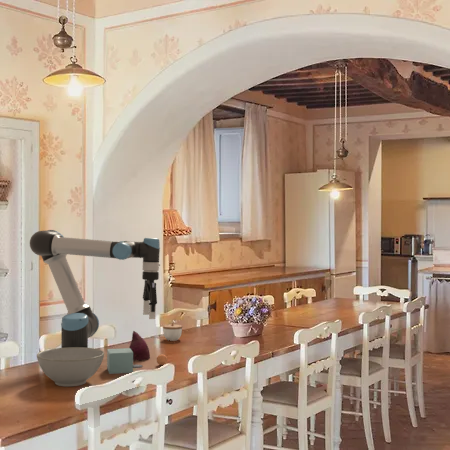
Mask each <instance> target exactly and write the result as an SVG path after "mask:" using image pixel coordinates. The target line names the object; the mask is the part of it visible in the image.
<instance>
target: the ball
mask: <svg viewBox="0 0 450 450" xmlns="http://www.w3.org/2000/svg"><path fill="white" fill-rule="evenodd" d="M156 363H157V364H158V365H159V366H165V365H166V364H167V363H168V357H167V356H166V355H165V354H163V353H162V354H159V355H157V356H156ZM164 364H165V365H164Z"/></svg>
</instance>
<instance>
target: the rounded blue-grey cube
mask: <svg viewBox="0 0 450 450" xmlns="http://www.w3.org/2000/svg"><path fill="white" fill-rule="evenodd" d="M106 350H107V351H106V355H107V356H106V357H107V358H106V369H107V372H108V374H110V375H113V374H128V373H129V374H131V373H130V372H133V373H134V368H133V365H134V360H133V352H132V350H131V349H130V348H129V347H126V348H125V347H124V348H107V349H106Z"/></svg>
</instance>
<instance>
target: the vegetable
mask: <svg viewBox="0 0 450 450" xmlns="http://www.w3.org/2000/svg"><path fill="white" fill-rule="evenodd" d="M128 348H130V349H131V350H132V352H133V361H145V360H149V359H150V358H151V354H150V353H151V352H150V349H149V346H148V344H147V342H146V340H145V339H144V338H143V337H142V336H141V335H140V334H139V333H138V332H137V331H135V330H133V331H132V337H131V341H130V344H129V347H128Z"/></svg>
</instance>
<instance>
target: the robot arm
mask: <svg viewBox="0 0 450 450" xmlns="http://www.w3.org/2000/svg"><path fill="white" fill-rule="evenodd" d="M29 247H30V250H31V252H33V253H34V254H36V255H37V256H40V257H41V259H42V261H43V263H45V264H47V266H48V267H49V269H50V271H51V274H52V276H53V279H54V282H55V284H56V286H57V288H58V291H59V293H60V296H61V298H62V301H63V303H64V305H65V308H66V310H67V313H66V314H65V315H64V316H62V319H61V322H60V325H61V326H60V327H61V344H60V345H61V347H60V348H67V347H85V348H89V347H88V346H89V344H88V343H89V342H88V341H89V340H88V339H89V338H91V337H93V336H94V335H95V334H96V333H97V332H98V331H99V330H98V329H99V327H100V326H99V325H100V321H99V318H98V316H97V315H96V313H94V312H93V311H92V309H91V306H90V305H88V304H86V303H85V300H84V297H83V295H82V294H81V293H82V292H81V291H80V288H79V286H78V284H77V281H76V279H75V275H74V274H73V272H72V269H71V266H70V264H69V262H68V259H67V255H72V256H83V257H85V256H86V257H95V258H108V259H117V260H119V261H121V260H123V261H125V260H127V259H133V258H137V259H138V258H139V259H142V273H141V275H142V277H141V278H142V280H144V285H143V286H144V287H143V293H142V299H143V310H142V311H143V313H142V314H143V315H147V316H148V315H149V316H148V318H149V320H155V319H156V312H157V311H156V309H157V307H156V306H157V304H158V297H157V295H158V294H157V283H156V282H155V281H157V280H159V278H160V277H159V276H160V273H159V269H160V266H161V264H160V251H161V250H160V249H161V247H160V239H159V238H158V237H144V238H143V241H131V240H130V241H129V240H120V241H111V240H99V239H88V238H87V239H86V238H79V237H78V238H76V237H65V236H64V235H63V234H62V233H61V232H59V231H56V230H54V229H48V230H39V231H37V232H34V233H33V234H32V236H31V237H30V240H29Z"/></svg>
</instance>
